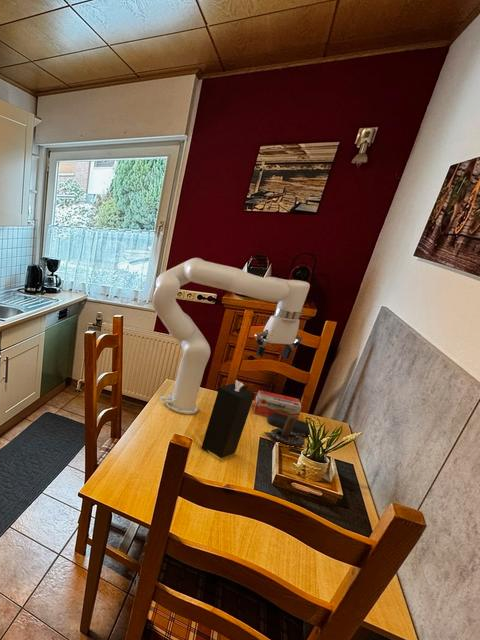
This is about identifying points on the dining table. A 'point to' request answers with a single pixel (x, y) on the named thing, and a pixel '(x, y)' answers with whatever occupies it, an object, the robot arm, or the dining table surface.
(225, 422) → the tissue box
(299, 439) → the ring
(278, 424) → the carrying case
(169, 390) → the dining table surface
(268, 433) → the post
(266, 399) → the medicine box
